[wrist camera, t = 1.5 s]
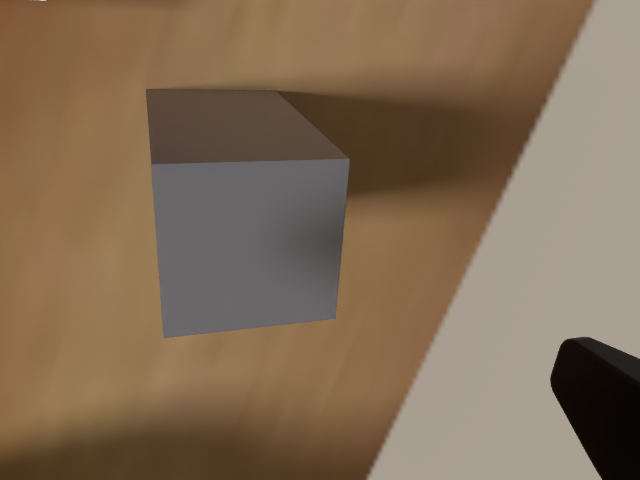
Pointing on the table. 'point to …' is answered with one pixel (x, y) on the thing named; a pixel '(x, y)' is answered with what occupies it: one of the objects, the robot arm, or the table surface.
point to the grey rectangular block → (243, 211)
